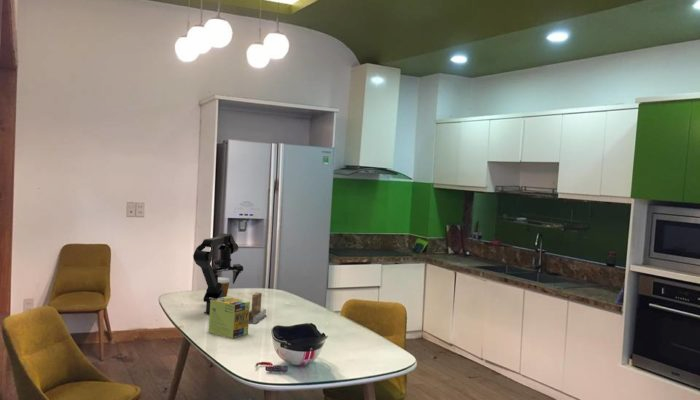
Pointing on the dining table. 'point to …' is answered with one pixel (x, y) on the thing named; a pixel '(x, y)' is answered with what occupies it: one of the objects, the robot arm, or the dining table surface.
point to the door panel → (256, 304)
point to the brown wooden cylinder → (224, 284)
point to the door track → (257, 316)
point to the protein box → (229, 317)
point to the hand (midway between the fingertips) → (225, 284)
